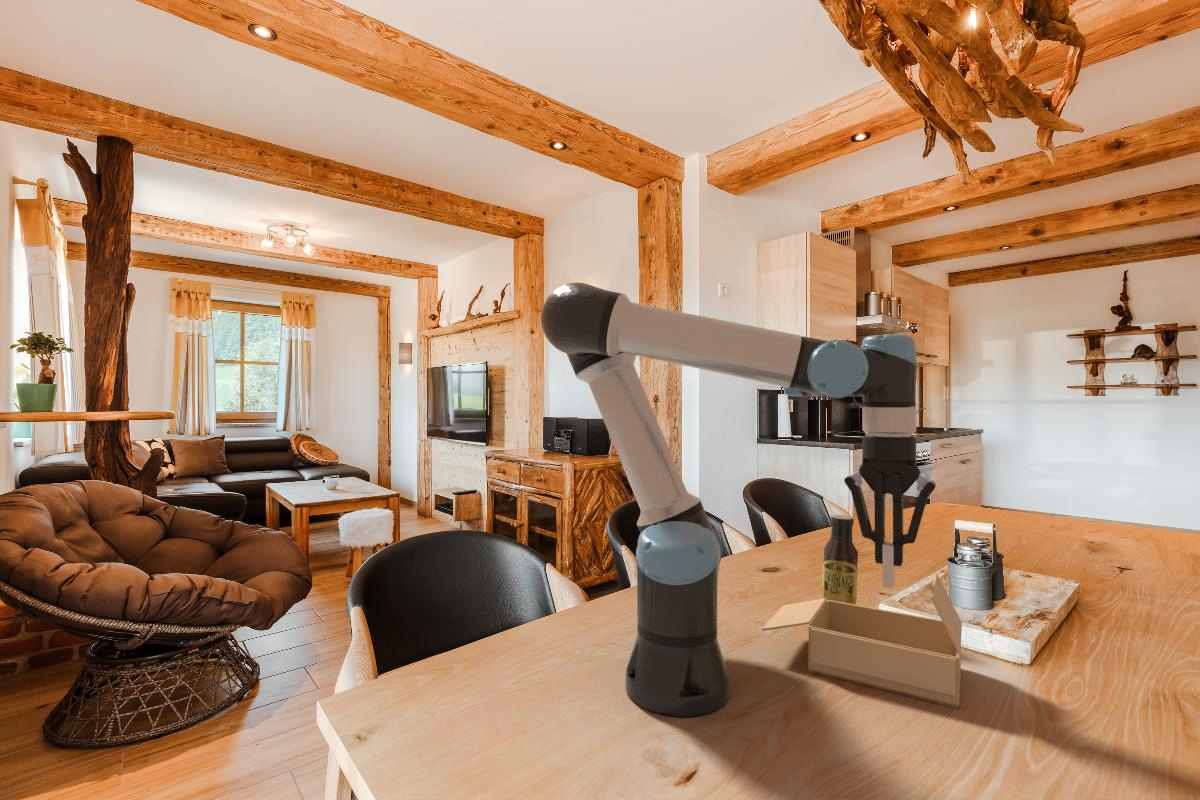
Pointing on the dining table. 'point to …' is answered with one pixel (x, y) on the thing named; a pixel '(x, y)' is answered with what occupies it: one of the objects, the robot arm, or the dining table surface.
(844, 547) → the sauce bottle
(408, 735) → the dining table surface
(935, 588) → the flap outer
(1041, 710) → the dining table surface
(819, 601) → the flap inner
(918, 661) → the carton
